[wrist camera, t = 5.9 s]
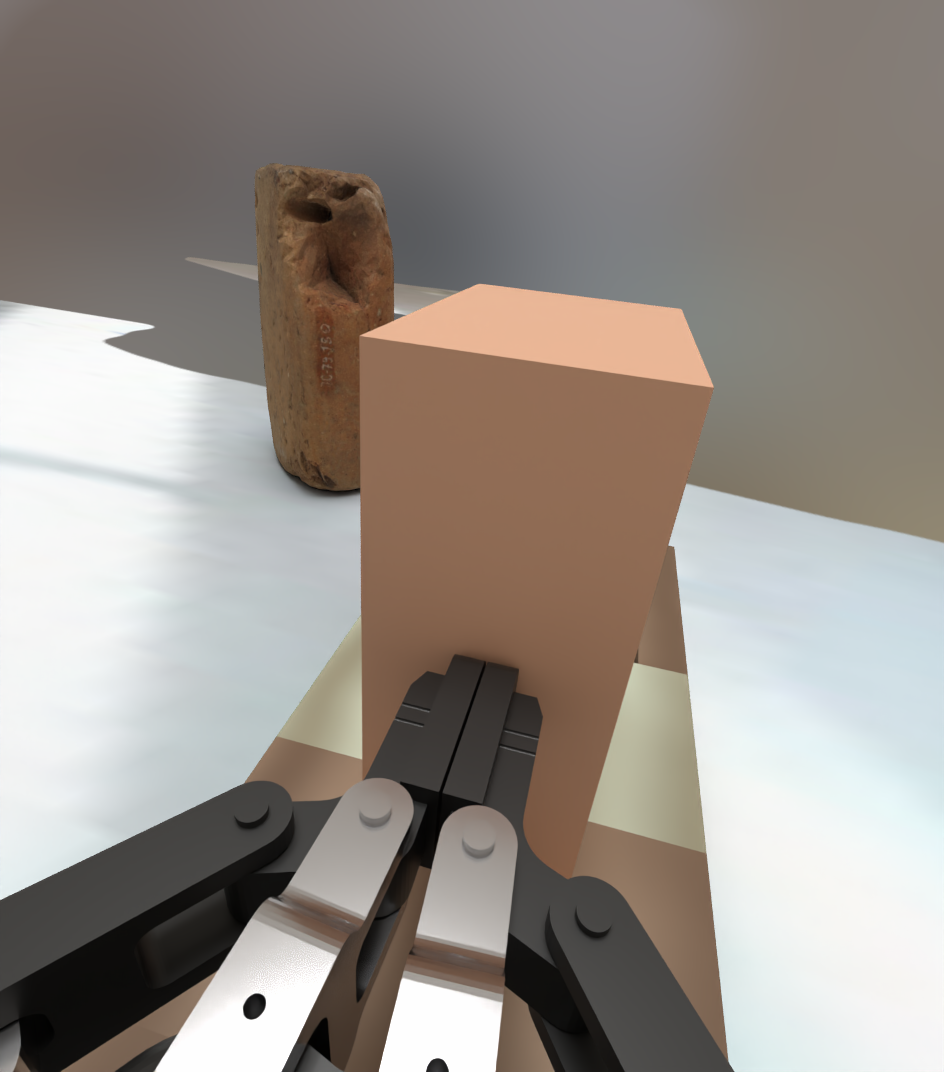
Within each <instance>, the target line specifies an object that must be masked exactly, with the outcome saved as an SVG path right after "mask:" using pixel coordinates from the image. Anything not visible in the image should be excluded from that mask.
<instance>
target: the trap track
mask: <svg viewBox="0 0 944 1072" xmlns="http://www.w3.org/2000/svg"><path fill="white" fill-rule="evenodd" d="M252 781H271V782H274V783H277V784H279V785H281V786H282V787H283V788H285V789H286V790H287V792H288V793H289V794H290V797H291V799H292V801H321V800H329V799H334V798H337V797H340V796H343V795H344V794H345V792H346V791H347V790H348V789H349V788H351V787H352V786H354V785H355V784H357V783H359V782H361V781H362V644H361V615H360V617H359V618H358V620H357V621H356V622H355V624H354V625H353V627H352V628H351V630H350V631H349V633H348V634H347V635H346V637H345V638H344V640H343V641H342V643H341V644H340V646H339V647H338V648H337V650H336V651H335V653H334V654H333V656H332V657H331V659H330V660H329V661H328V663H327V664H326V666H325V667H324V669H323V670H322V672H321V673H320V674H319V676H318V677H317V679H316V680H315V682H314V683H313V685H312V686H311V687H310V689H309V690H308V692H307V693H306V695H305V696H304V698H303V699H302V700H301V702H300V703H299V705H298V706H297V708H296V709H295V711H294V712H293V713H292V715H291V716H290V718H289V719H288V721H287V722H286V724H285V725H284V726H283V728H282V729H281V731H280V732H279V734H278V735H277V737H276V738H275V739H274V741H273V742H272V744H271V745H270V747H269V748H268V750H267V751H266V752H265V754H264V755H263V757H262V758H261V760H260V761H259V763H258V764H257V765H256V767H255V768H254V770H253V771H252V773H251V774H250V776H249V777H248V779H247V780H246V781H245V783H248V782H252ZM431 870H432V869H429V868H425V867H422V866H419V869H418V872H417V875H416V878H415V881H414V883H413V886H412V889H411V892H410V894H409V898H408V903H407V906H406V909H405V912H404V914H403V916H402V919H401V921H400V924H399V926H398V928H397V931H396V933H395V936H394V938H393V940H392V943H391V945H390V947H389V950H388V952H387V955H386V957H385V959H384V962H383V964H382V967H381V969H380V971H379V974H378V976H377V978H376V981H375V983H374V986H373V988H372V990H371V993H370V995H369V998H368V1000H367V1002H366V1005H365V1007H364V1010H363V1013H362V1016H361V1019H360V1022H359V1026H358V1031H357V1035H356V1039H355V1042H354V1045H353V1049H352V1052H351V1055H350V1057H349V1060H348V1063H347V1066H346V1068H345V1071H344V1072H379V1071H380V1066H381V1062H382V1058H383V1054H384V1050H385V1046H386V1042H387V1038H388V1034H389V1029H390V1025H391V1021H392V1017H393V1013H394V1009H395V1005H396V1001H397V996H398V992H399V988H400V984H401V980H402V976H403V972H404V968H405V964H406V961H407V958H408V954H409V952H410V950H411V949H412V947H413V944H414V941H415V937H416V933H417V928H418V924H419V920H420V916H421V912H422V907H423V903H424V899H425V895H426V891H427V886H428V882H429V878H430V874H431ZM576 876H591V877H595V878H598V879H601V880H603V881H605V882H607V883H609V884H610V885H612V886H613V887H614V888H615V889H617V890H618V891H619V892H620V893H621V894H622V895H623V897H624V898H625V900H626V901H627V902H628V904H629V905H630V907H631V909H632V910H633V912H634V913H635V915H636V916H637V918H638V920H639V921H640V923H641V924H642V926H643V928H644V929H645V931H646V932H647V934H648V936H649V937H650V939H651V940H652V942H653V943H654V945H655V947H656V948H657V950H658V951H659V953H660V955H661V956H662V958H663V959H664V961H665V963H666V964H667V966H668V967H669V969H670V970H671V972H672V974H673V975H674V977H675V978H676V980H677V982H678V983H679V985H680V986H681V988H682V989H683V991H684V993H685V994H686V996H687V997H688V999H689V1001H690V1002H691V1004H692V1005H693V1007H694V1009H695V1010H696V1012H697V1013H698V1015H699V1016H700V1018H701V1020H702V1021H703V1023H704V1024H705V1026H706V1028H707V1029H708V1031H709V1032H710V1034H711V1036H712V1037H713V1039H714V1040H715V1042H716V1043H717V1045H718V1047H719V1048H720V1050H721V1051H722V1053H723V1055H724V1056H725V1058H726V1059H727V1061H728V1054H727V1044H726V1035H725V1025H724V1016H723V1006H722V997H721V987H720V978H719V968H718V959H717V949H716V940H715V930H714V921H713V911H712V902H711V892H710V883H709V873H708V864H707V854H706V845H705V835H704V826H703V816H702V807H701V797H700V788H699V778H698V769H697V759H696V750H695V740H694V731H693V721H692V712H691V702H690V693H689V683H688V674H687V664H686V655H685V645H684V636H683V626H682V617H681V607H680V598H679V588H678V579H677V569H676V560H675V550H674V547H672V546H668V547H667V551H666V554H665V558H664V561H663V564H662V568H661V571H660V575H659V578H658V582H657V585H656V588H655V592H654V595H653V599H652V602H651V606H650V609H649V612H648V616H647V619H646V623H645V626H644V630H643V633H642V636H641V640H640V643H639V647H638V650H637V654H636V657H635V660H634V664H633V667H632V671H631V674H630V678H629V681H628V685H627V688H626V691H625V695H624V698H623V702H622V705H621V709H620V712H619V715H618V719H617V722H616V726H615V729H614V733H613V736H612V739H611V743H610V746H609V750H608V753H607V757H606V760H605V763H604V767H603V770H602V774H601V777H600V781H599V784H598V788H597V791H596V794H595V798H594V801H593V805H592V808H591V812H590V815H589V818H588V822H587V825H586V829H585V832H584V836H583V839H582V842H581V846H580V849H579V853H578V856H577V860H576V863H575V866H574V870H573V873H572V877H571V878H573V877H576ZM217 972H218V971H217ZM217 972H215V973H213V974H212V975H210V976H209V977H207V978H206V979H204V980H203V981H201V982H199V983H198V984H196V985H195V986H193V987H192V988H190V989H189V990H187V991H185V992H184V993H182V994H181V995H179V996H178V997H176V998H175V999H173V1000H171V1001H170V1002H168V1003H167V1004H165V1005H164V1006H162V1007H160V1008H159V1009H157V1010H156V1011H154V1012H153V1013H151V1014H150V1015H148V1016H146V1017H145V1018H143V1019H142V1020H140V1021H139V1022H137V1023H136V1024H134V1025H132V1026H131V1027H129V1028H128V1029H126V1030H125V1031H123V1032H122V1033H120V1034H118V1035H117V1036H115V1037H114V1038H112V1039H111V1040H109V1041H107V1042H106V1043H104V1044H103V1045H101V1046H100V1047H98V1048H97V1049H95V1050H93V1051H92V1052H90V1053H89V1054H87V1055H86V1056H84V1057H83V1058H81V1059H79V1060H78V1061H76V1062H75V1063H73V1064H72V1065H70V1066H69V1067H67V1068H65V1069H64V1070H62V1071H61V1072H115V1071H116V1070H117V1069H119V1068H120V1067H122V1066H123V1065H124V1064H126V1063H127V1062H129V1061H130V1060H131V1059H133V1058H134V1057H136V1056H137V1055H139V1054H140V1053H142V1052H143V1051H145V1050H146V1049H148V1048H150V1047H152V1046H154V1045H155V1044H157V1043H159V1042H161V1041H163V1040H165V1039H167V1038H169V1037H172V1036H174V1035H176V1034H178V1033H179V1031H180V1030H181V1028H182V1027H183V1025H184V1024H185V1022H186V1020H187V1019H188V1017H189V1016H190V1014H191V1013H192V1011H193V1009H194V1008H195V1006H196V1005H197V1003H198V1002H199V1000H200V998H201V997H202V995H203V994H204V992H205V990H206V989H207V987H208V986H209V984H210V983H211V981H212V979H213V978H214V976H215V975H216V973H217ZM495 1072H555V1071H554V1069H553V1067H552V1064H551V1062H550V1060H549V1057H548V1055H547V1053H546V1050H545V1048H544V1046H543V1044H542V1041H541V1039H540V1037H539V1034H538V1032H537V1030H536V1027H535V1025H534V1023H533V1020H532V1018H531V1015H530V1012H529V1009H528V1004H527V1003H525V1002H524V1001H523V1000H522V999H520V998H519V997H518V996H517V995H516V994H514V993H513V992H512V991H511V990H509V989H508V988H507V987H506V986H504V995H503V1005H502V1014H501V1023H500V1032H499V1041H498V1050H497V1060H496V1069H495Z"/></svg>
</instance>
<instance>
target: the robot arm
mask: <svg viewBox="0 0 944 1072" xmlns="http://www.w3.org/2000/svg"><path fill="white" fill-rule="evenodd" d="M518 675H519V669H518V668H514V667H509V666H505V665H501V664H497V663H492V662H488V663H487V665H486V661H483V660H479V659H475V658H471V657H466V656H462V655H458V654H455V655H454V656H453V658H452V660H451V663H450V665H449V667H448V670H447V672H446V674H445V675H442V674H438V673H434V672H430V671H427V672H425V673H424V674H423V675H422V676H421V677H419V678H418V679H417V680H416V681H414V682H413V683H412V684H411V685H410V687H409V689H408V691H407V693H406V696H405V698H404V700H403V702H402V705H401V706H400V708H399V710H398V712H397V714H396V716H395V720H393V722H392V724H391V726H390V728H389V730H388V732H387V734H386V736H385V739H384V741H383V743H382V745H381V747H380V749H379V751H378V753H377V755H376V757H375V759H374V761H373V763H372V765H371V767H370V769H369V771H368V773H367V775H366V777H365V778H364V779H363V781H361V782H359V783H357V784H355V785H354V786H352V787H351V788H349V789H348V790H347V791H346V792H345V794H344V795H343V796H340V797H337V798H334V799H329V800H321V801H292V799H291V797H290V794H289V793H288V792H287V790H286V789H285V788H283V787H282V786H281V785H279V784H277V783H274V782H271V781H252V782H248V783H244V784H242V785H240V786H237V787H235V788H233V789H231V790H229V791H227V792H225V793H223V794H221V795H219V796H216V797H214V798H212V799H210V800H208V801H206V802H204V803H202V804H200V805H198V806H196V807H194V808H191V809H189V810H187V811H185V812H183V813H181V814H179V815H177V816H175V817H173V818H171V819H169V820H166V821H164V822H162V823H160V824H158V825H156V826H154V827H152V828H150V829H148V830H146V831H144V832H141V833H139V834H137V835H135V836H133V837H131V838H129V839H127V840H125V841H123V842H121V843H119V844H116V845H114V846H112V847H110V848H108V849H106V850H104V851H102V852H100V853H98V854H96V855H94V856H91V857H89V858H87V859H85V860H83V861H81V862H79V863H77V864H75V865H73V866H71V867H69V868H66V869H64V870H62V871H60V872H58V873H56V874H54V875H52V876H50V877H48V878H46V879H44V880H41V881H39V882H37V883H35V884H33V885H31V886H29V887H27V888H25V889H23V890H21V891H19V892H16V893H14V894H12V895H10V896H8V897H6V898H4V899H2V900H0V1072H61V1071H62V1070H64V1069H65V1068H67V1067H69V1066H70V1065H72V1064H73V1063H75V1062H76V1061H78V1060H79V1059H81V1058H83V1057H84V1056H86V1055H87V1054H89V1053H90V1052H92V1051H93V1050H95V1049H97V1048H98V1047H100V1046H101V1045H103V1044H104V1043H106V1042H107V1041H109V1040H111V1039H112V1038H114V1037H115V1036H117V1035H118V1034H120V1033H122V1032H123V1031H125V1030H126V1029H128V1028H129V1027H131V1026H132V1025H134V1024H136V1023H137V1022H139V1021H140V1020H142V1019H143V1018H145V1017H146V1016H148V1015H150V1014H151V1013H153V1012H154V1011H156V1010H157V1009H159V1008H160V1007H162V1006H164V1005H165V1004H167V1003H168V1002H170V1001H171V1000H173V999H175V998H176V997H178V996H179V995H181V994H182V993H184V992H185V991H187V990H189V989H190V988H192V987H193V986H195V985H196V984H198V983H199V982H201V981H203V980H204V979H206V978H207V977H209V976H210V975H212V974H213V973H215V972H217V971H218V972H217V973H216V975H215V976H214V978H213V979H212V981H211V983H210V984H209V986H208V987H207V989H206V990H205V992H204V994H203V995H202V997H201V998H200V1000H199V1002H198V1003H197V1005H196V1006H195V1008H194V1009H193V1011H192V1013H191V1014H190V1016H189V1017H188V1019H187V1020H186V1022H185V1024H184V1025H183V1027H182V1028H181V1030H180V1031H179V1033H178V1034H176V1035H174V1036H172V1037H169V1038H167V1039H165V1040H163V1041H161V1042H159V1043H157V1044H155V1045H154V1046H152V1047H150V1048H148V1049H146V1050H145V1051H143V1052H142V1053H140V1054H139V1055H137V1056H136V1057H134V1058H133V1059H131V1060H130V1061H129V1062H127V1063H126V1064H124V1065H123V1066H122V1067H120V1068H119V1069H117V1070H116V1071H115V1072H344V1071H345V1068H346V1066H347V1063H348V1060H349V1057H350V1055H351V1052H352V1049H353V1045H354V1042H355V1039H356V1035H357V1031H358V1026H359V1022H360V1019H361V1016H362V1013H363V1010H364V1007H365V1005H366V1002H367V1000H368V998H369V995H370V993H371V990H372V988H373V986H374V983H375V981H376V978H377V976H378V974H379V971H380V969H381V967H382V964H383V962H384V959H385V957H386V955H387V952H388V950H389V947H390V945H391V943H392V940H393V938H394V936H395V933H396V931H397V928H398V926H399V924H400V921H401V919H402V916H403V914H404V912H405V909H406V906H407V903H408V898H409V894H410V892H411V889H412V886H413V883H414V881H415V878H416V875H417V872H418V869H419V866H422V867H425V868H429V869H432V870H431V874H430V878H429V882H428V886H427V891H426V895H425V899H424V903H423V907H422V912H421V916H420V920H419V924H418V928H417V933H416V937H415V941H414V944H413V947H412V949H411V950H410V952H409V954H408V958H407V961H406V964H405V968H404V972H403V976H402V980H401V984H400V988H399V992H398V996H397V1001H396V1005H395V1009H394V1013H393V1017H392V1021H391V1025H390V1029H389V1034H388V1038H387V1042H386V1046H385V1050H384V1054H383V1058H382V1062H381V1066H380V1071H379V1072H495V1069H496V1060H497V1050H498V1041H499V1032H500V1023H501V1014H502V1005H503V995H504V986H506V987H507V988H508V989H509V990H511V991H512V992H513V993H514V994H516V995H517V996H518V997H519V998H520V999H522V1000H523V1001H524V1002H525V1003H527V1004H528V1009H529V1012H530V1015H531V1018H532V1020H533V1023H534V1025H535V1027H536V1030H537V1032H538V1034H539V1037H540V1039H541V1041H542V1044H543V1046H544V1048H545V1050H546V1053H547V1055H548V1057H549V1060H550V1062H551V1064H552V1067H553V1069H554V1071H555V1072H734V1070H733V1069H732V1067H731V1066H730V1064H729V1062H728V1061H727V1059H726V1058H725V1056H724V1055H723V1053H722V1051H721V1050H720V1048H719V1047H718V1045H717V1043H716V1042H715V1040H714V1039H713V1037H712V1036H711V1034H710V1032H709V1031H708V1029H707V1028H706V1026H705V1024H704V1023H703V1021H702V1020H701V1018H700V1016H699V1015H698V1013H697V1012H696V1010H695V1009H694V1007H693V1005H692V1004H691V1002H690V1001H689V999H688V997H687V996H686V994H685V993H684V991H683V989H682V988H681V986H680V985H679V983H678V982H677V980H676V978H675V977H674V975H673V974H672V972H671V970H670V969H669V967H668V966H667V964H666V963H665V961H664V959H663V958H662V956H661V955H660V953H659V951H658V950H657V948H656V947H655V945H654V943H653V942H652V940H651V939H650V937H649V936H648V934H647V932H646V931H645V929H644V928H643V926H642V924H641V923H640V921H639V920H638V918H637V916H636V915H635V913H634V912H633V910H632V909H631V907H630V905H629V904H628V902H627V901H626V900H625V898H624V897H623V895H622V894H621V893H620V892H619V891H618V890H617V889H615V888H614V887H613V886H612V885H610V884H609V883H607V882H605V881H603V880H601V879H598V878H595V877H591V876H576V877H573V878H570V879H566V878H565V877H563V876H562V875H560V874H559V873H557V872H556V871H554V870H553V869H551V868H550V867H548V866H547V865H546V864H544V863H543V862H542V861H541V860H540V859H539V858H538V857H537V856H536V855H535V854H534V852H533V851H532V850H531V848H530V846H529V844H528V842H527V840H526V837H525V834H524V829H523V819H524V812H525V807H526V802H527V797H528V792H529V787H530V782H531V776H532V771H533V766H534V761H535V756H536V751H537V746H538V740H539V735H540V730H541V725H542V720H543V715H542V712H541V709H540V705H539V702H538V699H537V697H533V696H529V695H525V694H521V693H516V687H517V681H518Z"/></svg>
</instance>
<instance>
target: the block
mask: <svg viewBox="0 0 944 1072" xmlns="http://www.w3.org/2000/svg"><path fill="white" fill-rule="evenodd" d="M255 196H256V200H255V214H256V234H257V235H256V236H257V259H258V283H259V294H260V316H261V329H262V341H263V354H264V367H265V378H266V386H267V400H268V409H269V416H270V422H271V429H272V437H273V443H274V448H275V451H276V454H277V457H278V459H279V461H280V463H281V464H282V466H283V468H284V469H285V470H286V471H287V472H289V473H291V474H292V475H295V476H299V477H300V478H301V481H303V482H305V483H307V484H308V485H310V486H312V487H315V488H317V489H328V490H334V491H340V490H353V489H357V488H360V349H359V336H360V335H362V334H365V333H367V332H369V331H372V330H374V329H376V328H378V327H381V326H383V325H385V324H388V323H390V322H392V321H394V265H393V264H394V262H393V255H392V243H391V239H390V235H389V228H388V224H387V217H386V211H385V205H384V201H383V197H382V195H381V192H380V190H379V187H378V185H376V184H375V183H374V182H373V181H372V180H371V179H370V177H368V176H366V175H365V174H353V173H344V172H341V171H335V170H324V169H316V168H310V167H302V166H292V165H286V166H283V165H282V164H277V163H273V164H269V165H267V166H266V167H261V168H259V169H258V170H257V171H256V174H255Z"/></svg>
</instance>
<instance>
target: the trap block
mask: <svg viewBox="0 0 944 1072" xmlns="http://www.w3.org/2000/svg"><path fill="white" fill-rule="evenodd" d="M359 349H360V496H361V644H362V781H363V779H364V778H365V777H366V775H367V773H368V771H369V769H370V767H371V765H372V763H373V761H374V759H375V757H376V755H377V753H378V751H379V749H380V747H381V745H382V743H383V741H384V739H385V736H386V734H387V732H388V730H389V728H390V726H391V724H392V722H393V720H395V716H396V714H397V712H398V710H399V708H400V706H401V705H402V702H403V700H404V698H405V696H406V693H407V691H408V689H409V687H410V685H411V684H412V683H413V682H414V681H416V680H417V679H418V678H419V677H421V676H422V675H423V674H424V673H425V672H427V671H430V672H434V673H438V674H442V675H445V674H446V672H447V670H448V667H449V665H450V663H451V660H452V658H453V656H454V655H455V654H458V655H462V656H466V657H471V658H475V659H479V660H483V661H486V665H487V663H488V662H492V663H497V664H501V665H505V666H509V667H514V668H518V669H519V675H518V681H517V687H516V693H521V694H525V695H529V696H533V697H537V699H538V702H539V705H540V709H541V712H542V715H543V720H542V725H541V730H540V735H539V740H538V746H537V751H536V756H535V761H534V766H533V771H532V776H531V782H530V787H529V792H528V797H527V802H526V807H525V812H524V819H523V829H524V834H525V837H526V840H527V842H528V844H529V846H530V848H531V850H532V851H533V852H534V854H535V855H536V856H537V857H538V858H539V859H540V860H541V861H542V862H543V863H544V864H546V865H547V866H548V867H550V868H551V869H553V870H554V871H556V872H557V873H559V874H560V875H562V876H563V877H565V878H566V879H570V878H571V877H572V873H573V870H574V866H575V863H576V860H577V856H578V853H579V849H580V846H581V842H582V839H583V836H584V832H585V829H586V825H587V822H588V818H589V815H590V812H591V808H592V805H593V801H594V798H595V794H596V791H597V788H598V784H599V781H600V777H601V774H602V770H603V767H604V763H605V760H606V757H607V753H608V750H609V746H610V743H611V739H612V736H613V733H614V729H615V726H616V722H617V719H618V715H619V712H620V709H621V705H622V702H623V698H624V695H625V691H626V688H627V685H628V681H629V678H630V674H631V671H632V667H633V664H634V660H635V657H636V654H637V650H638V647H639V643H640V640H641V636H642V633H643V630H644V626H645V623H646V619H647V616H648V612H649V609H650V606H651V602H652V599H653V595H654V592H655V588H656V585H657V582H658V578H659V575H660V571H661V568H662V564H663V561H664V558H665V554H666V551H667V547H668V544H669V540H670V537H671V533H672V530H673V527H674V523H675V520H676V516H677V513H678V509H679V506H680V503H681V499H682V496H683V492H684V489H685V485H686V482H687V478H688V475H689V472H690V468H691V465H692V461H693V458H694V454H695V451H696V448H697V444H698V441H699V437H700V434H701V430H702V427H703V424H704V420H705V417H706V413H707V410H708V406H709V403H710V399H711V396H712V393H713V389H714V387H713V384H712V382H711V380H710V377H709V375H708V372H707V370H706V367H705V365H704V363H703V360H702V358H701V355H700V353H699V351H698V348H697V346H696V343H695V341H694V338H693V336H692V334H691V332H690V329H689V327H688V324H687V322H686V320H685V317H684V315H683V312H682V310H681V309H675V308H667V307H659V306H651V305H643V304H635V303H628V302H620V301H611V300H604V299H596V298H588V297H580V296H572V295H564V294H556V293H548V292H539V291H532V290H523V289H516V288H509V287H501V286H492V285H485V284H477V285H475V286H473V287H471V288H468V289H466V290H464V291H461V292H459V293H457V294H454V295H452V296H450V297H447V298H445V299H443V300H441V301H438V302H436V303H434V304H431V305H429V306H427V307H424V308H422V309H420V310H418V311H415V312H413V313H411V314H408V315H406V316H404V317H401V318H399V319H397V320H395V321H392V322H390V323H388V324H385V325H383V326H381V327H378V328H376V329H374V330H372V331H369V332H367V333H365V334H362V335H360V336H359Z"/></svg>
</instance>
